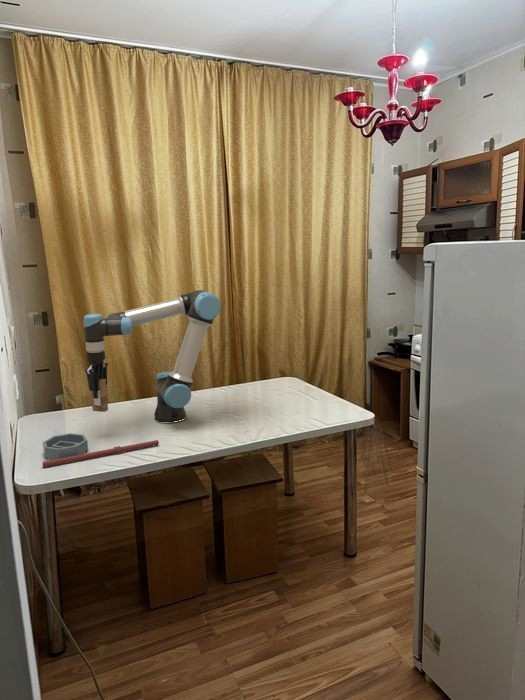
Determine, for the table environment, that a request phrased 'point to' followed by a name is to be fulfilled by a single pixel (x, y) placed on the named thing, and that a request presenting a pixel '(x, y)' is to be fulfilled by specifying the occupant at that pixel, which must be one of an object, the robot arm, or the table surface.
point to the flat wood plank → (101, 397)
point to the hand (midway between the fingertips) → (99, 403)
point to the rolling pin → (98, 453)
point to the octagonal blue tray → (65, 446)
